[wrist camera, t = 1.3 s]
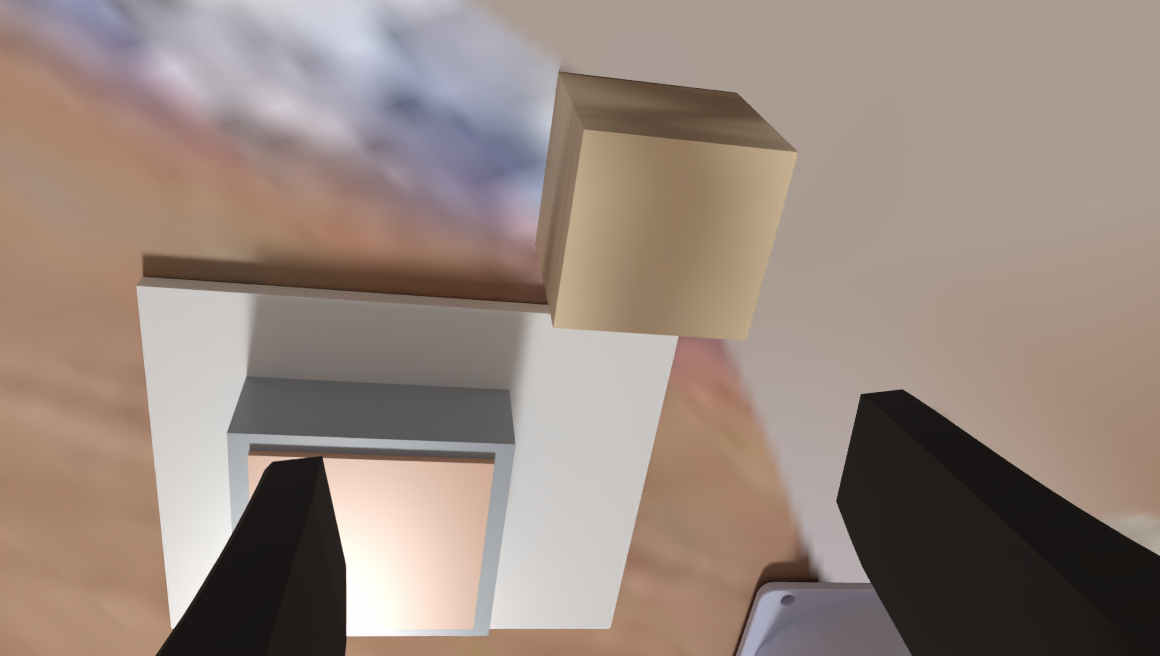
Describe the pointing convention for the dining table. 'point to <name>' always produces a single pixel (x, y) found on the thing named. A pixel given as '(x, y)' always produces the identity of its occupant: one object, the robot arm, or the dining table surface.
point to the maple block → (658, 208)
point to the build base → (425, 343)
